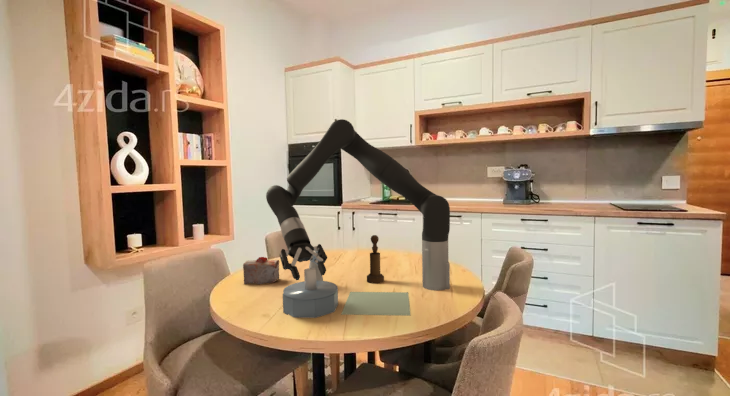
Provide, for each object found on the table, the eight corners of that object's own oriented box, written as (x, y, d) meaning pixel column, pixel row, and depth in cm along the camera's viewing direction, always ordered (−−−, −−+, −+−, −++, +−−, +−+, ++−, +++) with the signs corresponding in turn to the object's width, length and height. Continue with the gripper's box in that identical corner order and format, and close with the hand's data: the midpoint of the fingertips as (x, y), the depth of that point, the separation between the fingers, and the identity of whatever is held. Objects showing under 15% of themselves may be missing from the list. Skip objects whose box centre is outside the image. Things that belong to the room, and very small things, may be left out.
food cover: (341, 299, 114) (341, 263, 113) (332, 319, 98) (331, 277, 97) (293, 298, 115) (292, 263, 115) (276, 318, 99) (274, 277, 98)
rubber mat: (408, 293, 118) (408, 292, 118) (410, 316, 99) (410, 315, 99) (350, 292, 120) (350, 291, 120) (341, 315, 100) (341, 314, 100)
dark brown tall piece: (386, 280, 134) (385, 234, 133) (381, 285, 128) (380, 237, 127) (369, 278, 137) (369, 233, 136) (364, 283, 131) (363, 236, 130)
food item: (281, 278, 140) (280, 254, 140) (278, 284, 132) (277, 258, 132) (247, 279, 139) (246, 255, 139) (241, 285, 131) (240, 260, 131)
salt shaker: (324, 284, 131) (323, 250, 130) (321, 288, 125) (320, 253, 125) (309, 283, 132) (308, 250, 131) (305, 288, 126) (304, 253, 125)
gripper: (276, 229, 108) (292, 273, 99) (317, 225, 116) (335, 265, 107) (271, 243, 112) (286, 287, 103) (311, 238, 120) (327, 278, 112)
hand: (311, 276), depth 105 cm, fingers open, 8 cm apart
